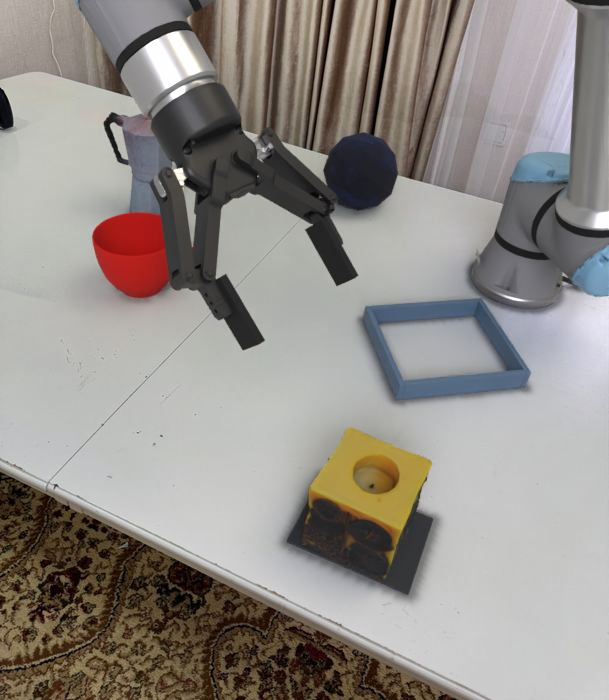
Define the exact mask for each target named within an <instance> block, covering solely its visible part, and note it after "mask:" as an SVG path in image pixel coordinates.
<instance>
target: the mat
mask: <svg viewBox="0 0 609 700" xmlns="http://www.w3.org/2000/svg"><path fill="white" fill-rule="evenodd" d="M309 509H310V506H309V499H308V500H307V502H306V503H305V505H304V508H303V510H301V511H302V512H301V513H300V515H299V517H298V519H297V520H296V523H295V525H294V526H293V528H292V530H291V532H290V534H289V536H288V538H287V540H286V543H288V544H289V545H292V546H294V547H297V548H298V549H301V550H304V551H306V552H308V553H310V554H313V555H315V556H318V557H319V558H322V559H325V560H327V561H328V562H331V563H334V564H335V565H338V566H339V567H342V568H345V569H347V570H350V571H351V572H354V573H356V574H358V575H361V576H363V577H366V578H367V579H370V580H371V581H372V580H373V581H374V582H377V583H380V584H382V585H384V586H386V587H389V588H392V589H393V590H395V591H397V592H399V593H402V594H405V595H407V596H409V595H410V592H411V588H412V586H413V582H414V579H415V576H416V574H417V571H418V567H419V564H420V562H421V558H422V555H423V553H424V549H425V547H426V543H427V540H428V537H429V534H430V531H431V527H432V525H433V521H434V518H433V517H430V516H428V515H425V514H422V513H420V512H417V511H416V513H415V517H414V519H413V520H412V522H411V524H410V526H409V530H408V533H407V535H406V537H405V539H403V543H402V545H401V547H400V549H399V553H398V555H397V556H396V559H395V561H394V564H393V566H392V568H391V569H390V572H389V573H388V575H387V579H386V580H385V581H380V580H376V579H375V578H373V577H372V576H370V575H368V574H366V573H364V572H362V571H359V570H357V569H353V568H352V567H350V566H346V565H345V564H344V563H341V562H338V561H336V560H334V559H332V558H330V557H328V556H326V555H323V554H321V553H320V552H318V551H317V550H314V549H312V548H310V547H309V546H308V545H303V544H302V543H301V542H300V540H301V537H302V532H303V529H304V526H303V523H304V521H305V517H306V516H307V512H308V511H309Z"/></svg>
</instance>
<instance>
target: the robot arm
mask: <svg viewBox="0 0 609 700" xmlns="http://www.w3.org/2000/svg"><path fill="white" fill-rule="evenodd" d="M215 1H216V0H75V5H76V6H77V8H78V10H79V11H80V12H81V14H82V15H83V17H84V19H85V20H86V22H87V23H88V26H89V27H90V29H91V30H92V32H93V33H94V36H95V37H96V39H97V40H98V42H99V43H100V45H101V47H102V49H103V50H104V52H105V54H106V55H107V57H108V59H109V60H110V62H111V64H112V65H113V67H114V68H115V70H116V72H117V74H118V75H119V78H121V81H122V82H123V83H124V85H125V87H126V89H127V90H128V92H129V94H130V96H131V97H132V99H133V101H134V102H135V105H136V106H137V107H138V109H139V111H140V114H143V116H144V118H147V119H149V120H152V121H151V130H152V132H153V134H154V136H155V137H156V139H157V141H158V142H159V144H160V146H161V147H162V149H163V151H164V153H165V154H166V156H167V158H168V159H169V160H170V161H172V163H174V165H175V167H176V168H174V169H173V168H172V169H171V168H170V167H164V168H162V169H161V171H160V172H159V173H158V174H157V175H156V176H155V177H154V178H153V179H152V180H151V181H150V187H151V189H152V191H153V193H154V195H155V197H156V199H157V201H158V204H159V207H160V214H161V221H162V229H163V236H164V244H165V251H166V259H167V266H168V274H169V286H170V287H171V288H172V290H174V291H181V290H185V289H188V290H189V291H191V292H195V291H198V294H200V296H201V297H202V299H203V301H204V302H205V304H206V306H207V307H208V310H209V311H210V312H211V314H212V316H213V317H214V319H216V320H217V321H219V322H220V321H222V320H224V322H225V324H226V325H227V327H228V328H229V330H230V332H231V334H232V336H233V337H234V338H235V340H236V342H237V344H238V345H239V347H240V349H241V350H242V351H246V350H249V349H251V348H254V347H256V346H259V345H260V344H263V342H265V341H266V338H265V337H264V336H263V334H262V332H261V330H260V328H259V327H258V325H257V324H256V322H255V320H254V319H253V317H252V315H251V314H250V312H249V310H248V308H247V306H246V305H245V303H244V302H243V300H242V298H241V297H240V295H239V294H238V291H237V290H236V288H235V287H234V284H233V283H232V281H231V279H230V278H229V277H228V274H227V273H224V274H223V275H221V276H219V277H216V276H217V267H218V257H219V242H220V231H221V219H222V218H221V217H222V209H223V207H224V206H225V205H227V204H228V203H230V202H231V201H233V200H234V199H241V198H243V197H245V196H246V195H248V194H250V195H254V196H260V197H262V198H264V199H266V200H267V201H270V202H271V203H273V204H275V205H276V206H278V207H280V208H282V209H283V210H285V211H287V212H289V213H290V214H292V215H294V216H295V217H297V218H299V219H301V220H302V221H305V222H306V223H308V224H310V226H309V227H307V228H305V229H304V230H305V232H306V234H307V236H308V238H309V240H310V242H311V243H312V245H313V247H314V248H315V250H316V252H317V254H318V256H319V258H320V260H321V261H322V263H323V265H324V267H325V268H326V270H327V272H328V273H329V276H330V277H331V279H332V281H333V282H334V284H335V286H336V287H338V286H341V285H343V284H346V283H347V282H350V281H352V280H354V279H356V278H357V277H358V276H359V273H358V272H357V270H356V268H355V266H354V264H353V263H352V261H351V259H350V257H349V256H348V254H347V252H346V250H345V248H344V246H343V245H344V240H343V238H342V235H341V234H340V232H339V230H338V228H337V227H336V224H335V223H334V221H333V219H332V217H331V215H330V214H332V213H334V212H335V211H336V206H335V204H338V202H337V201H338V197H337V195H336V194H335V193H334V192H333V191H332V190H331V189H330V188H329V187H328V186H327V183H326V182H323V180H321V178H320V177H318V175H316V174H315V173H314V172H313V171H312V170H311V169H310V168H308V167H307V166H306V164H304V163H303V162H302V161H301V160H300V159H299V158H298V157H297V156H296V155H295V154H293V153H292V151H290V150H289V149H288V148H287V147H286V146H285V145H284V143H283V142H282V141H281V139H280V137H279V136H278V135H277V133H276V131H275V130H274V129H273V128H272V127H270V126H267V127H265V128H264V129H263V130H262V131H260V133H258V134H257V135H256V136H255V137H253V138H252V139H251V138H250V137H249V136H248V135H246V133H245V132H244V130H243V127H242V115H241V113H240V111H239V109H238V108H237V106H236V104H235V102H234V101H233V99H232V97H231V95H230V94H229V92H228V90H227V88H226V86H225V85H224V84H222V83H219V82H218V79H219V73H218V72H217V70H216V68H215V66H214V64H213V63H212V61H211V60H210V58H209V56H208V54H207V53H206V51H205V49H204V46H203V45H202V43H201V42H200V40H199V38H198V37H197V35H196V33H195V31H194V30H193V28H192V26H191V25H190V23H189V21H188V18H189V17H191V16H193V15H194V14H196V13H197V12H199V11H201V10H202V9H204V8H205V7H207V6H208V5H210V4H212V3H213V2H215ZM565 2H567V3H568V4H569V5H571V6H572V8H574V9H575V10H576V11H577V12H576V29H575V34H576V35H575V52H574V68H573V88H572V105H571V106H572V108H571V123H570V124H571V125H570V142H569V143H570V145H569V153H565V152H558V151H535V152H531V153H527V154H525V155H523V156H522V157H520V159H518V161H517V162H516V165H515V167H514V170H513V172H512V173H511V176H510V177H509V183H508V187H507V189H506V193H505V197H504V200H503V203H502V206H501V210H500V213H499V217H498V221H497V223H496V227H495V230H494V234H493V236H492V238H491V239H490V240H489V242H488V243H487V245H486V246H485V247H484V248H483V250H482V251H481V253H480V254H479V251H478V249H476V250H475V257H476V259H474V262H473V265H472V268H471V272H470V277H471V281H472V283H473V285H474V286H475V287H476V289H478V291H479V292H480V293H481V294H482V295H485V296H486V297H487V298H489V299H491V300H493V301H495V302H496V303H498V304H501V305H504V306H509V307H512V308H516V309H517V308H518V309H523V310H524V309H527V310H535V309H541V308H546V307H548V306H550V305H553V304H554V303H555V302H556V301H557V300H558V298H559V296H560V294H561V291H562V289H563V283H566V284H569V285H571V286H574V287H576V288H579V289H580V290H581V291H583V293H585V294H587V295H588V296H592V297H595V298H603V297H609V0H565ZM185 187H186V188H187V189H189V190H190V191H192V192H194V193H195V194H194V195H195V196H194V206H193V214H194V215H195V222H194V232H193V242H192V238H191V232H190V231H191V230H190V223H189V217H188V210H187V201H186V196H185V193H184V191H185ZM192 247H193V251H192ZM563 274H564V275H563Z"/></svg>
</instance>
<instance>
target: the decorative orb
mask: <svg viewBox="0 0 609 700" xmlns="http://www.w3.org/2000/svg"><path fill="white" fill-rule="evenodd" d="M322 172H323V175H324V176H323V177H324V179H325V184H326V185H327V186H328V187H329V188H330V189H331V190H332V191H333V192H334V193H335V194H336V195H337V197H338V201H337V204H338V205H340V206H343V207H346V208H348V209H351V210H354V211H362V210H366V209H371V208H374V207H375V208H376V207H378V206H379V205H381V204H382V203H383V202H384V201H386V200H387V199H388V198H389V197H390V196H391V195H392V194H393V191H394V188H395V185H396V182H397V179H398V176H399V171H398V165H397V158H396V154H395V152H394V150H392V148H391V147H390V146H389V144H388V143H387V142H386V140H385V139H384V138H381V137H379V136H376V135H374V134H370V133H367V132H365V131H363V132H359V133H355V134H352V135H347V136H343V137H342V138H341V139H340V140H338V142H336V144H335V145H334V146H333V147H332V148H331V149H330V150H329V153H328V155H327V158H326V161H325V164H324V167H323V170H322Z"/></svg>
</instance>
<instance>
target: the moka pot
mask: <svg viewBox="0 0 609 700" xmlns="http://www.w3.org/2000/svg"><path fill="white" fill-rule="evenodd" d="M151 121H152V120H149V119H147V118H144V116H143V114H142V113H139V114H135V115H132V116H128V115H126V114H118V113H116V112H113V111H111V112H110V114H108V116H106V118H105V120H103V123H102V124H103V127H104V128H103V129H104V131H105V134H106V137H107V138H108V141H109V144H110V146H111V148H112V149H113V154H114V155H115V158H116V161H117V163H119V164H121V165H124V166H129V167H130V168H131V174H132V176H131V185H130V186H131V188H130V200H129V201H130V202H129V203H130V204H129V213H134V212H145V213H153V214H157V215H161V214H160V207H159V204H158V201H157V199H156V197H155V195H154V193H153V191H152V189H151V187H150V181H151V180H152V179H153V178H154V177H155V176H156V175H157V174H158V173H159V172H160V171H161V169H162V168H164V167H170V168H171V169H173V162H172V161H170V160H169V159H168V158H167V156H166V154H165V153H164V151H163V149H162V147H161V146H160V144H159V142H158V141H157V139H156V137H155V136H154V134H153V132H152V130H151ZM113 123H114V124H115V125H117V126H118V127H120V128H121V132H122V136H123V140H124V145H125V150H126V155H127V159H126V158H123V157H122V154H121V152H120V150H119V146H118V144H117V142H116V141H117V140H116V138H115V136H114V132H113V130H112V128H111V124H113Z"/></svg>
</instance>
